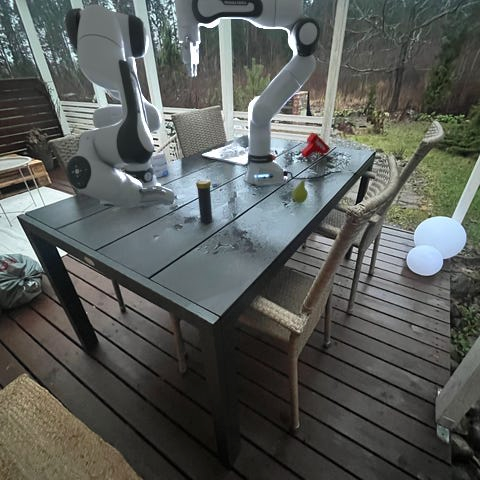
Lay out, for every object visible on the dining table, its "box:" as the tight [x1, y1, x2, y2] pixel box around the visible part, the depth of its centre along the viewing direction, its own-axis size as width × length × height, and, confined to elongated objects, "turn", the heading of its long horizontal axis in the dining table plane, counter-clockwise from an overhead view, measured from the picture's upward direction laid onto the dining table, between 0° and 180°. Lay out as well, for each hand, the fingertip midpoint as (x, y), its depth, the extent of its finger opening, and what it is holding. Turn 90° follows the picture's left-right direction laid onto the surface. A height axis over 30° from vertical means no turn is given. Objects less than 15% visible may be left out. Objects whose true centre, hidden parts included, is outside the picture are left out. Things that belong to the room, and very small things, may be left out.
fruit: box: [291, 174, 311, 204], centre depth 118 cm, size 7×8×12 cm
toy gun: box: [300, 132, 330, 159], centre depth 180 cm, size 18×4×15 cm
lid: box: [195, 178, 211, 188], centre depth 99 cm, size 5×5×2 cm
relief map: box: [201, 142, 249, 166], centre depth 183 cm, size 27×35×5 cm
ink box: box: [150, 151, 169, 179], centre depth 149 cm, size 8×5×12 cm, turn 135°
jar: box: [196, 186, 213, 225], centre depth 103 cm, size 5×5×16 cm
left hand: (154, 203), depth 88 cm, fingers open, 8 cm apart
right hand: (192, 76), depth 120 cm, fingers open, 8 cm apart
